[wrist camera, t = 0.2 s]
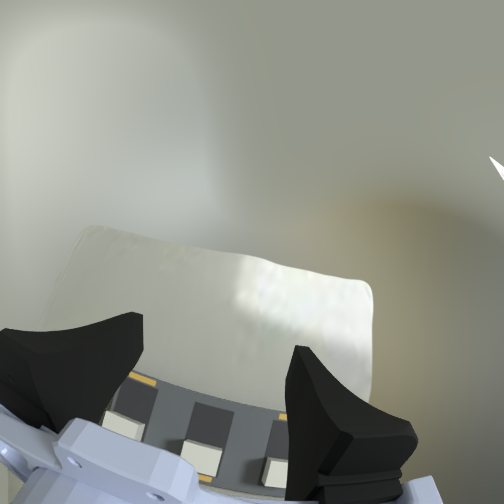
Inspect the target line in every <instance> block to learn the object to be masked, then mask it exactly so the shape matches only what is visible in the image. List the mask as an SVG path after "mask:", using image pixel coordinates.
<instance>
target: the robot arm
mask: <svg viewBox="0 0 504 504" xmlns="http://www.w3.org/2000/svg"><path fill="white" fill-rule="evenodd" d="M143 350H144V348H143V315H142V314H139V313H135V312H128V313H125V314H121V315H118V316H115V317H112V318H109V319H106V320H103V321H100V322H97V323H94V324H90V325H87V326H83V327H79V328H74V329H68V330H61V331H48V332H33V331H20V330H14V329H7V328H5V329H3V330H1V331H0V462H2V463H3V464H4V465H5V466H6V467H7V468H8V469H9V470H10V471H11V472H12V473H13V474H15V475H16V476H17V477H18V478H19V479H20V480H22V481H23V482H24V483H25V484H24V485H23V487H22V488H21V490H20V491H19V492H18V494H17V495H16V497H15V498H14V499H13V501H12V502H11V504H443V502H442V500H441V497H440V495H439V492H438V490H437V487H436V485H435V483H434V480H433V478H432V476H426V477H422V478H418V479H414V480H410V481H407V482H405V483H403V484H400V481H399V478H401V477H402V472H401V470H400V468H401V467H402V465H403V464H404V463H405V462H406V461H407V460H408V458H409V457H410V456H411V455H412V453H413V452H414V450H415V449H416V447H417V444H418V438H417V435H416V433H415V431H414V429H413V428H412V425H411V424H410V422H409V421H406V420H403V419H401V418H398V417H395V416H392V415H390V414H387V413H385V412H383V411H381V410H379V409H377V408H375V407H373V406H371V405H370V404H368V403H366V402H365V401H363V400H362V399H360V398H359V397H357V396H356V395H354V394H353V393H352V392H351V391H349V390H348V389H347V388H346V387H344V386H343V385H342V384H341V383H340V382H339V381H338V380H337V379H336V378H335V377H334V376H333V375H332V374H331V373H330V372H329V371H328V370H327V369H326V367H325V366H324V365H323V364H322V363H321V362H320V360H319V359H318V358H317V357H316V355H315V354H314V353H313V352H312V350H311V349H310V348H309V347H306V346H298V345H295V349H294V352H293V356H292V359H291V363H290V366H289V370H288V373H287V376H286V381H285V404H286V414H287V424H288V434H289V451H288V470H287V482H286V492H285V500H284V501H277V500H263V499H252V498H244V497H236V496H229V495H225V494H221V493H218V492H215V491H212V490H209V489H206V488H203V487H200V486H199V475H198V473H197V471H196V469H195V467H194V466H193V465H192V464H190V463H189V462H187V461H186V460H185V459H183V458H182V457H181V456H179V455H176V454H174V453H171V452H169V451H166V450H164V449H161V448H158V447H155V446H152V445H149V444H146V443H143V442H140V441H137V440H134V439H131V438H129V437H126V436H124V435H121V434H119V433H116V432H114V431H111V430H109V429H106V428H104V427H102V426H100V425H98V423H99V421H100V418H101V416H102V414H103V412H104V411H105V409H106V407H107V405H108V403H109V401H110V400H111V398H112V397H113V395H114V394H115V392H116V391H117V389H118V388H119V387H120V385H121V384H122V383H123V381H124V380H125V379H126V377H127V376H128V375H129V373H130V372H131V371H132V369H133V368H134V367H135V365H136V363H137V362H138V360H139V358H140V356H141V354H142V352H143Z"/></svg>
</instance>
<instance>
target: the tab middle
mask: <svg viewBox="0 0 504 504" xmlns="http://www.w3.org/2000/svg"><path fill="white" fill-rule="evenodd" d="M221 454H222V448H219V447H215V446H211V445H207V444H203V443H200V442H196V441H193V440H189V439H187V440H185V441H184V444H183V448H182V452H181V455H180V456H181V457H182V458H183V459H185V460H186V461H187V462H189V463H190V464H192V465H193V466H194V467H195V469H196V471H197V472H198V473H202V474H206V475H210V476H214V477H215V476H216V472H217V469H218V465H219V461H220V457H221Z"/></svg>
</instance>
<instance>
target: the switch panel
mask: <svg viewBox="0 0 504 504" xmlns="http://www.w3.org/2000/svg"><path fill="white" fill-rule="evenodd" d="M110 411H114V412H117V413H120V414H122V415H124V416H126V417H129V418H131V419H133V420H136V421H138V422H141V423H143V424H145V427H144V430H143V434H142V438H141V441H140V442H143V443H146V444H149V445H152V446H155V447H158V448H161V449H164V450H166V451H169V452H171V453H174V454H176V455H179V456H180V455H181V452H182V448H183V444H184V441H185V440H187V439H189V440H193V441H196V442H200V443H203V444H207V445H211V446H215V447H219V448H222V454H221V457H220V461H219V465H218V469H217V472H216V476H215V477H214V476H210V475H206V474H202V473H198V472H197V473H198V475H199V482H200V483H204V484H208V485H212V486H217V487H221V488H226V489H231V490H236V491H241V492H247V493H254V494H261V495H269V496H278V497H285V492H286V488H278V487H269V486H264V484H263V482H262V481H261V480H262V476H263V473H264V469H265V465H266V461H267V457H270V458H277V459H285V460H288V451H289V434H288V424H287V414H286V412H282V411H276V410H271V409H265V408H260V407H255V406H251V405H246V404H241V403H237V402H233V401H229V400H225V399H221V398H217V397H213V396H209V395H206V394H202V393H199V392H195V391H192V390H189V389H185V388H182V387H179V386H176V385H173V384H170V383H167V382H164V381H161V380H158V379H156V378H153V377H150V376H147V375H145V374H142V373H139V372H137V371H134V370H132V371H131V372H130V373H129V375H128V376H127V377H126V379H125V380H124V381H123V383H122V384H121V385H120V387H119V388H118V389H117V391H116V392H115V395H114V398H113V401H112V405H111V408H110Z"/></svg>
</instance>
